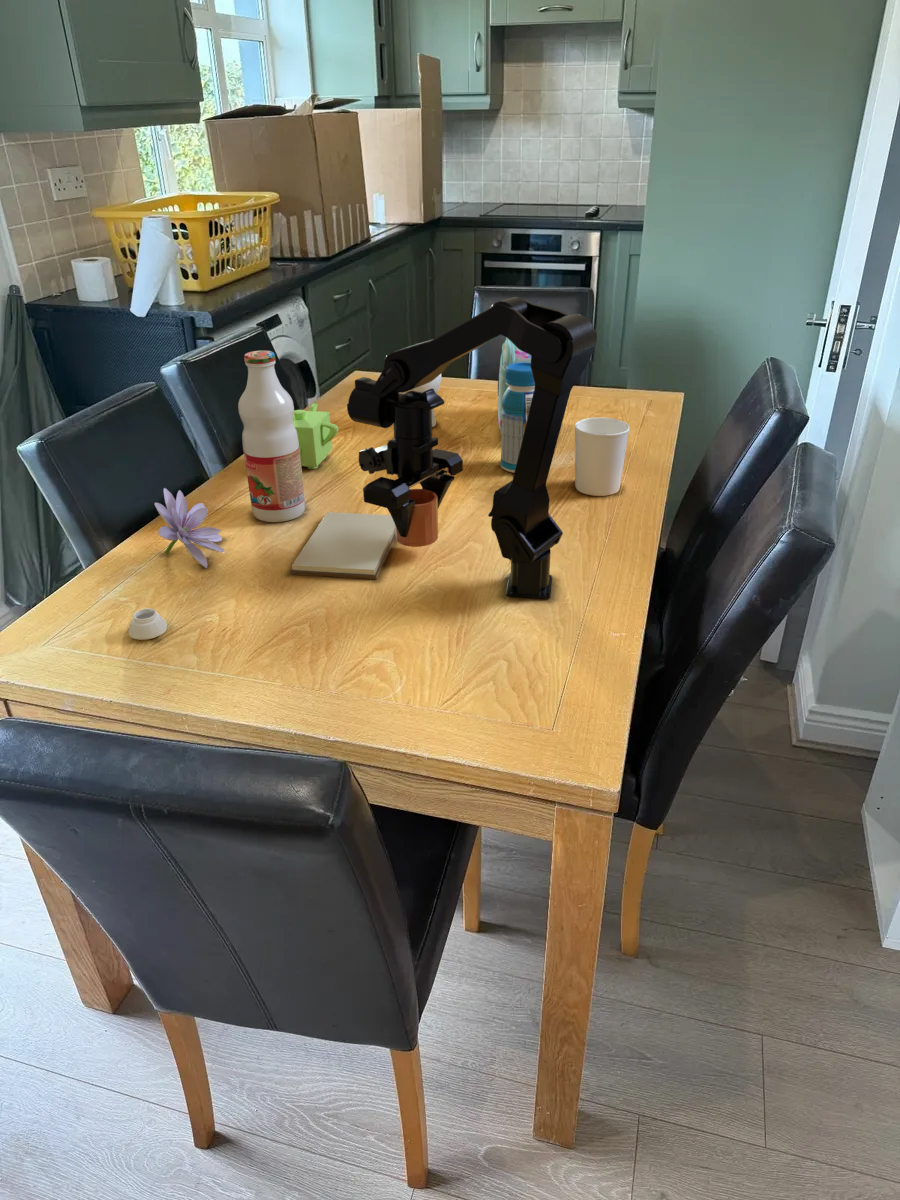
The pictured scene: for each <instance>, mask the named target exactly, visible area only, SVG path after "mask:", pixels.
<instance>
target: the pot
mask: <svg viewBox="0 0 900 1200" xmlns="http://www.w3.org/2000/svg"><path fill="white" fill-rule="evenodd" d="M409 489H410V498H409V499H412V500H415V506H414V510H413V514H412V519H411V523H410V528H409V532H408V535H407V537H401V536H400V534H399V532H398V530H397V528H396V525H395V535H396V539H395V541H396V542H397V543H398V544H399V545H402V546H405V547H410V548H422V547H426V546H430V545H433V544H434V543H436V542H437V541H438V538H439V508H438V501H437V495H436V493H434V492H432V491H430V490H426V489H422V488H409Z"/></svg>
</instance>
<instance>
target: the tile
mask: <svg viewBox="0 0 900 1200" xmlns="http://www.w3.org/2000/svg"><path fill="white" fill-rule="evenodd" d="M395 541H396V535H395V523H394V521H393V519H392V516H391V514H374V513H355V512H354V513H353V512H335V511H334V512H333V511H327V512H326V513H325V515H324V517H323V518H322V519H321V521H320V522H319V524H318V525H317V527H316V529H314V531H313V533H312V534H311V535H310V538H309V539H308V540H307V542H305V545H304V546H303V548H302V549H301V551H300V552H299V554H298V556H297V557H296V558H295V560H294V561H293V562H292V564H291V569H290V571H289V573H290V575H298V576H313V577H314V576H315V577H329V578H331V577H333V578H348V579H363V580H378V577H379V575H380V573H381V571H382V568H383V566H384V564H385V562H386V560H387V558H388V556H389V553H390V552H391V550H392V548H393V545H394V543H395Z"/></svg>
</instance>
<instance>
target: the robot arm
mask: <svg viewBox="0 0 900 1200" xmlns="http://www.w3.org/2000/svg"><path fill="white" fill-rule="evenodd" d="M597 333H598V332H597V330H596V329H595V327H594V325H593V323H592V322H591V321H590V320H589V319H588V317H586V316H584V315H582V314H578V313H572V314H568V313H565V312H563V311H561V310H558V309H555V308H551V307H548V306H543V305H539V304H535V303H532V302H530V301H528V300H526V299H524V298H521V297H519V296H512V297H509V298H505V299H502V300H499V301H496V302H494V303H493V304H492V305H491V306H490V307H489V308H488V309H486V310H484V311H482V312H480V313H478V314H477V315H475V316H472V317H471V318H469V319H467V320H465V321H464V322H462V323H460V324H458V325H457V326H454V327H453V328H451V329H450V330H448V331H445V332H444V333H442V334H440V335H439V336H436V337H435V338H433V339H429V340H425V341H422V342H419V343H415V344H412V345H409V346H407V347H403V348H400V349H397V350H395V351H392V352H390V353H388V354H387V355H385V358H384V359H383V362H384V364H383V370H382V372H380V374H379V376H378V378H377V379H376V380H375V379H372V378H371V377H365V376H362V377H360V378H357V379H355V380H354V388H353V389H352V391H351V392H350V395H349V397H348V402H347V404H346V410H347V411H346V412H347V414H348V417H349V418H350V419H351V420H352V421H353V422H354V423H359V424H364V425H369V426H373V427H378V428H383V429H389V428H390V427H392V425H393V438H392V439H389V440H388V442H387V443H386V444H384V445H381V446H378V447H376V448H374V447H372V446H371V447H368V448H364V449H362V450H359V451H358V464H359V467H360V469H361V470H362V471H363V472H368V474H369V475H373V474H375V473H377V472H382V471H386V475H391V476H394V475H396V476H397V478H396V479H392V478H389V477H388V478H387V477H384V476H380V477H378V478H376V479H374V480H372V481H370V482H369V483H367V484H365V486H364V487H363V488H362V496H363V503H366V504H370V505H374V506H376V507H377V506H378V507H381V508H385V509H387V511H388V512H389V515H391V516H392V519H393V521H394V523H395V525H396V528H397V530H398V532H399V534H400V536H401V537H407V535H408V532H409V528H410V523H411V519H412V514H413V510H414V506H415V500H412V499H409V498H410V489H412V488H413V487H415V486H416V485H418V484H419V485H420V486H421V489H426V490H430V491H432V492H434V493H436V495H437V501H438V509H439V508H440V506H441V504H442V502H443V499H444V497H445V496H446V494H447V492H448V490H449V489H450V486H451V484H452V483H453V482H454V481H455V477H456V475H458V474H460V473H461V472H463V471H464V460H463V458H462V457H461V455H460V454H459V453H457V452H454V451H449V450H444V449H439V448H434V447H436V446H439V437H434V436H433V427H432V409H434V410H435V409H437V408H438V407H440V406H443V405H444V404H445V399H443V398H442V396H441V395H439V394H438V393H437V394H436V392H435V391H434V389H429V390H427V391H424V392H423V393H422V392H417V391H409V390H412V389H414V388H417V387H419V386H422V385H424V384H427V383H429V382H431V381H433V380H434V379H435V378H436V377H438V376H439V375H440V374H441V375H442V373H444V372H445V371H446V370H447V368H448V367H450V365H451V364H452V363H453V362H455V361H456V360H458V359H461V358H462V357H463V356H466V355H468V354H469V353H471V352H474V351H475V350H477V349H479V348H481V347H483V346H485V345H487V344H489V343H491V342H493V341H495V340H497V339H498V338H501V337H502V336H503V337H505V338H506V337H507V338H508V339H509V340H510V341H511V342H512V343H513V344H514V345H515V346H516V347H517V348H518V349H520V350H521V351H523V352H525V353H527V354H529V355H531V370H532V375H533V379H534V383H535V388H534V393H533V397H532V401H531V405H530V409H529V414H528V418H527V422H526V426H525V430H524V435H523V439H522V443H521V447H520V451H519V456H518V460H517V464H516V468H515V472H514V473H513V476H512V480H511V481H509V482H508V483H506V484H504V485H502V486H501V487H499V488H497V489H496V490H495V491H494V493H493V496H492V507H491V510H490V512H488V515H487V517H489V518H490V517H491V519H490V527H491V531H492V532H494V534H495V537H496V541H497V543H498V547H499V550H500V553H501V556H502V558H504V559H508V560H509V561H510V572H509V574H508V579H507V585H506V591H505V595H506V596H507V597H514V598H515V597H516V598H532V599H551V597H552V586H553V575H550V573H551V553H552V551H551V548H553V547H554V546H555V545H558V544H559V543H560V541H561V539H562V536H563V534H564V533H563V530H562V529H561V528H560V526H559V525H558V524H557V522H556V520H555V519H553V517H552V516H551V514H550V513H549V512H550V501H551V499H550V495H549V491H548V487H547V481H548V477H549V473H550V469H551V467H552V462H553V460H554V455H555V451H556V447H557V444H558V439H559V436H560V433H561V428H562V424H563V421H564V419H565V418H564V417H565V414H566V410H567V406H568V402H569V399H570V395H571V391H572V390H573V387H574V386H575V384H576V383H577V382H578V380H579V378H580V377H581V375H583V372H584V371H585V370H586V368H587V366H588V363H589V362H590V358H591V357H592V356H593V353H594V350H595V349H596V346H597V344H598V343H597V342H598V334H597ZM407 391H408V392H407ZM399 392H400V393H399ZM403 392H407V393H405V394H401V393H403ZM448 473H449V474H448Z"/></svg>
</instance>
